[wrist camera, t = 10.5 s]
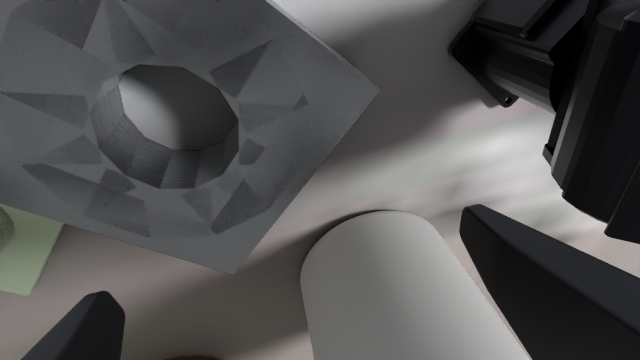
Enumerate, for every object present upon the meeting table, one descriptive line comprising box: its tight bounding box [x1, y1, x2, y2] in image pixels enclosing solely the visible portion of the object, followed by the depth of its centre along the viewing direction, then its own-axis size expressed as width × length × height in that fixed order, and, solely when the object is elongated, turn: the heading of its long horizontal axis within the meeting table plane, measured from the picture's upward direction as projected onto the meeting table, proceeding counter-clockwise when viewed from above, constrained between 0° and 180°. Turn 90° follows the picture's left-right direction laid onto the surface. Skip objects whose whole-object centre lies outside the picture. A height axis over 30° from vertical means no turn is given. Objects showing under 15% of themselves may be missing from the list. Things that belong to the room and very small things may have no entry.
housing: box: [0, 0, 380, 275], centre depth 16 cm, size 14×14×4 cm
